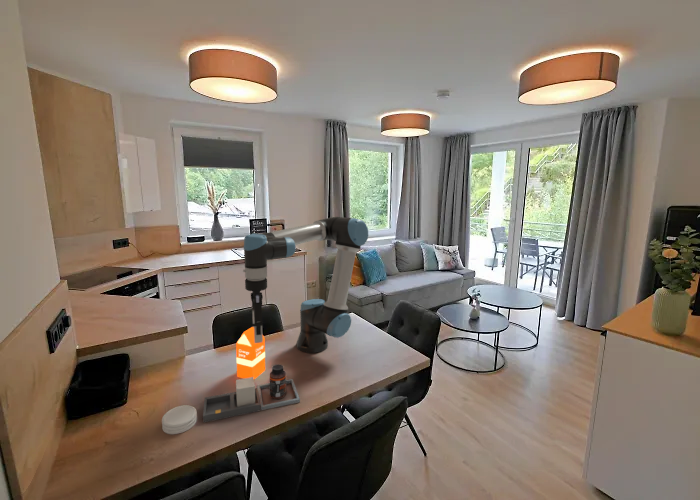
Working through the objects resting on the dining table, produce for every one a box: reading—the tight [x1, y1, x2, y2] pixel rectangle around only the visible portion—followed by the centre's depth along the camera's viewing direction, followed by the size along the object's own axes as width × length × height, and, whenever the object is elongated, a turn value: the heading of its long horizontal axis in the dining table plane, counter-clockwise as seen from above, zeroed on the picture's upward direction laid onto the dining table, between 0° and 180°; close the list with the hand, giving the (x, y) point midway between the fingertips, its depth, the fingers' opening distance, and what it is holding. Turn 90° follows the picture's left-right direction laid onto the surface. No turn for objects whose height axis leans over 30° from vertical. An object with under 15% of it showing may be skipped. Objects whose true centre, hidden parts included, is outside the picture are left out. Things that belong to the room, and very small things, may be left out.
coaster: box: [161, 404, 198, 435], centre depth 105 cm, size 10×10×4 cm
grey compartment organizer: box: [202, 377, 261, 424], centre depth 113 cm, size 18×10×8 cm, turn 111°
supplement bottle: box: [269, 363, 287, 400], centre depth 120 cm, size 6×6×11 cm
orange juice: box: [235, 326, 266, 380], centre depth 133 cm, size 8×9×20 cm
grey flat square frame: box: [256, 378, 301, 411], centre depth 121 cm, size 14×14×1 cm
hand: (257, 334), depth 119 cm, fingers open, 13 cm apart
